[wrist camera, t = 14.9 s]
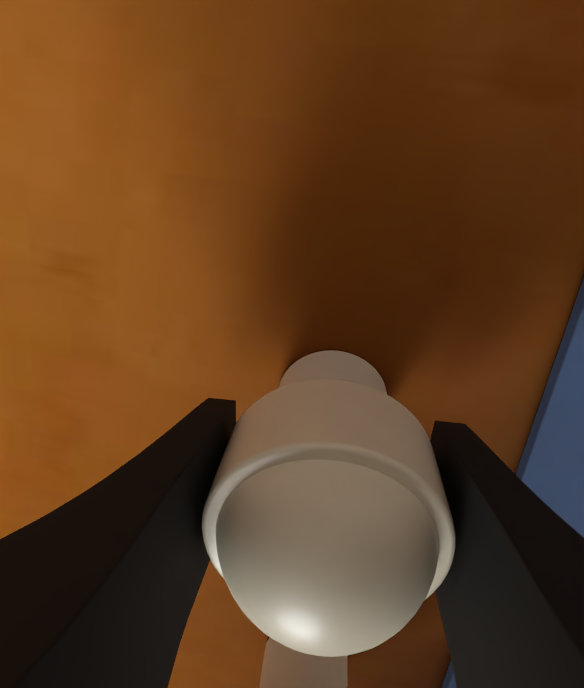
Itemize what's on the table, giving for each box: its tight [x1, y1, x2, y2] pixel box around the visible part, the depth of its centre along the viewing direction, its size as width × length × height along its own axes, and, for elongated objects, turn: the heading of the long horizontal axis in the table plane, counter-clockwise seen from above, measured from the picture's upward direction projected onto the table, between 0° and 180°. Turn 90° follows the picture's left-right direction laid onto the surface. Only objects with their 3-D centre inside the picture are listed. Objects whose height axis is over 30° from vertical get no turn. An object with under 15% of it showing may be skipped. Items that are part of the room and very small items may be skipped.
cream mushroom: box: [202, 350, 456, 657], centre depth 9 cm, size 4×4×6 cm
